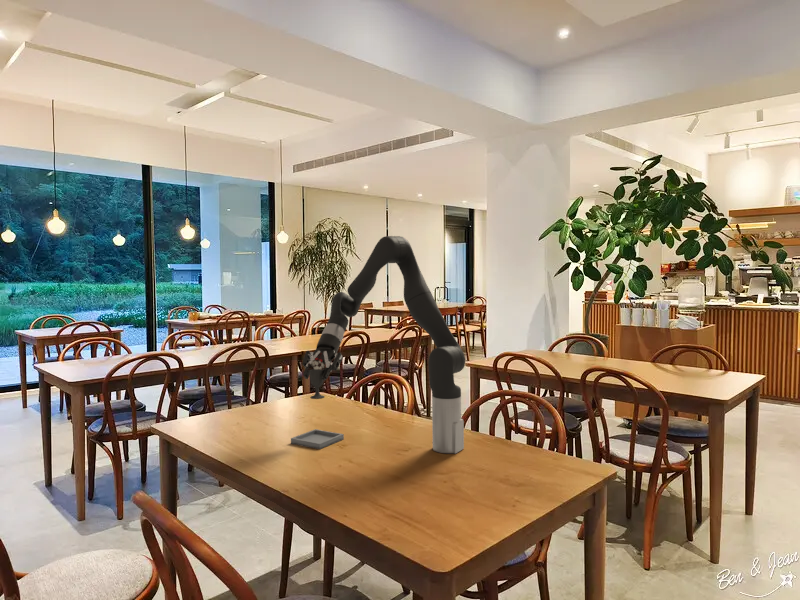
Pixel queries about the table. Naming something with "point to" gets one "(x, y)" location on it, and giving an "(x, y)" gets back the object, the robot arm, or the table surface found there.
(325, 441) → the tray
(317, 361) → the sundae
